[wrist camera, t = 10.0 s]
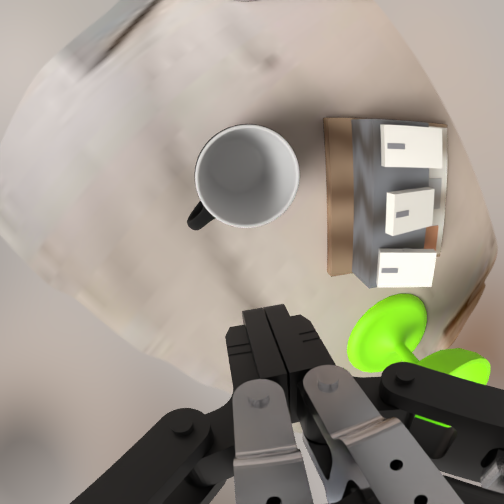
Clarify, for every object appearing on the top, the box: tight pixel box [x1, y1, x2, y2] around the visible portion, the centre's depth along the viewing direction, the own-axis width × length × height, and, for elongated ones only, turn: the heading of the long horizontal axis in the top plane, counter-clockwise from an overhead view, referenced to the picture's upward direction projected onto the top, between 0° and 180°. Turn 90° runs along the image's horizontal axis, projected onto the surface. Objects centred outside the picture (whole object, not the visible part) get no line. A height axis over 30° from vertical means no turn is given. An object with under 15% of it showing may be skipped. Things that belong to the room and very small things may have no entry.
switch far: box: [376, 248, 437, 287], centre depth 34 cm, size 4×7×2 cm, turn 95°
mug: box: [187, 124, 300, 230], centre depth 31 cm, size 12×9×10 cm
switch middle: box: [385, 187, 435, 236], centre depth 31 cm, size 4×7×2 cm, turn 95°
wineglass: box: [347, 294, 490, 427], centre depth 40 cm, size 16×16×18 cm
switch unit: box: [323, 118, 448, 288], centre depth 36 cm, size 20×19×6 cm
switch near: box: [380, 125, 442, 169], centre depth 29 cm, size 4×7×2 cm, turn 95°
